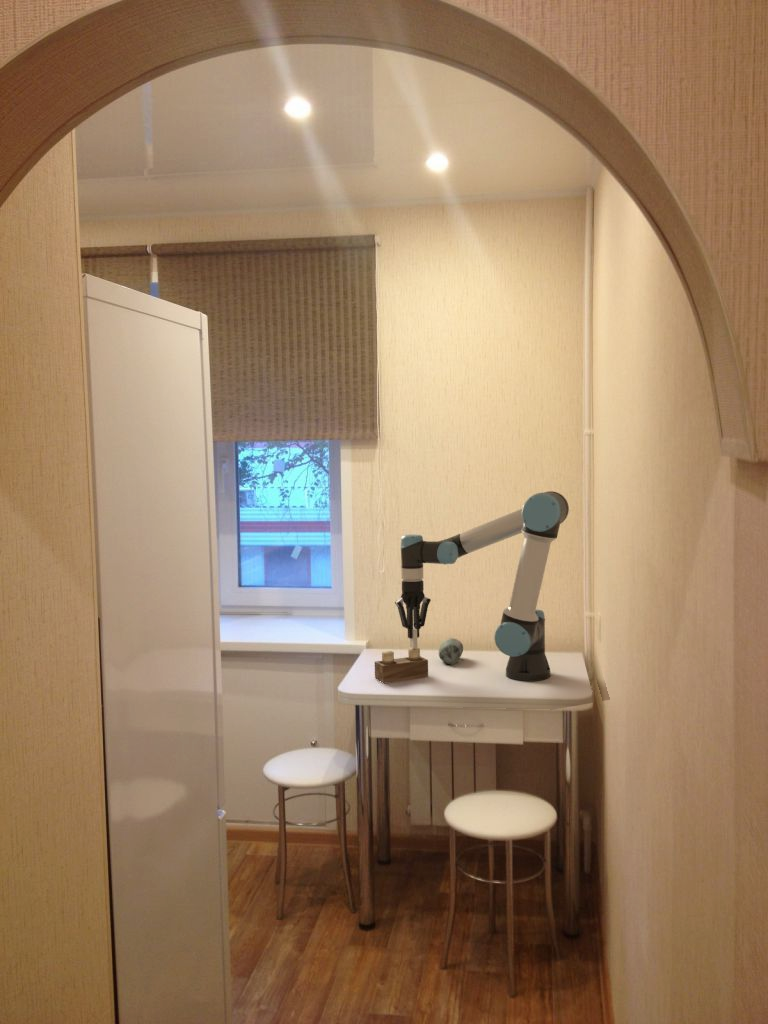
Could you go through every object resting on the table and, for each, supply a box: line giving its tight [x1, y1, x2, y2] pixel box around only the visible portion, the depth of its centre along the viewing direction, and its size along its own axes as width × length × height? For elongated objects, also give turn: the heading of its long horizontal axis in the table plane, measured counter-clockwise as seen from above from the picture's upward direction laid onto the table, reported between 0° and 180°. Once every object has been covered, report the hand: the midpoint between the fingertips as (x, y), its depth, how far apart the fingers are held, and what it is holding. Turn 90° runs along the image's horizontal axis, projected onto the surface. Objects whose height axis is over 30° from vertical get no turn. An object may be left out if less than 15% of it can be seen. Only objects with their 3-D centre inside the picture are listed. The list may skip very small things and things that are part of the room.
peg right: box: [407, 647, 421, 661], centre depth 310 cm, size 4×4×5 cm
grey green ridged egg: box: [438, 637, 464, 665], centre depth 330 cm, size 14×10×10 cm
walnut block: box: [374, 655, 429, 684], centre depth 308 cm, size 7×17×6 cm, turn 115°
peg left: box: [381, 650, 395, 665], centre depth 306 cm, size 4×4×5 cm
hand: (413, 647), depth 310 cm, fingers closed
